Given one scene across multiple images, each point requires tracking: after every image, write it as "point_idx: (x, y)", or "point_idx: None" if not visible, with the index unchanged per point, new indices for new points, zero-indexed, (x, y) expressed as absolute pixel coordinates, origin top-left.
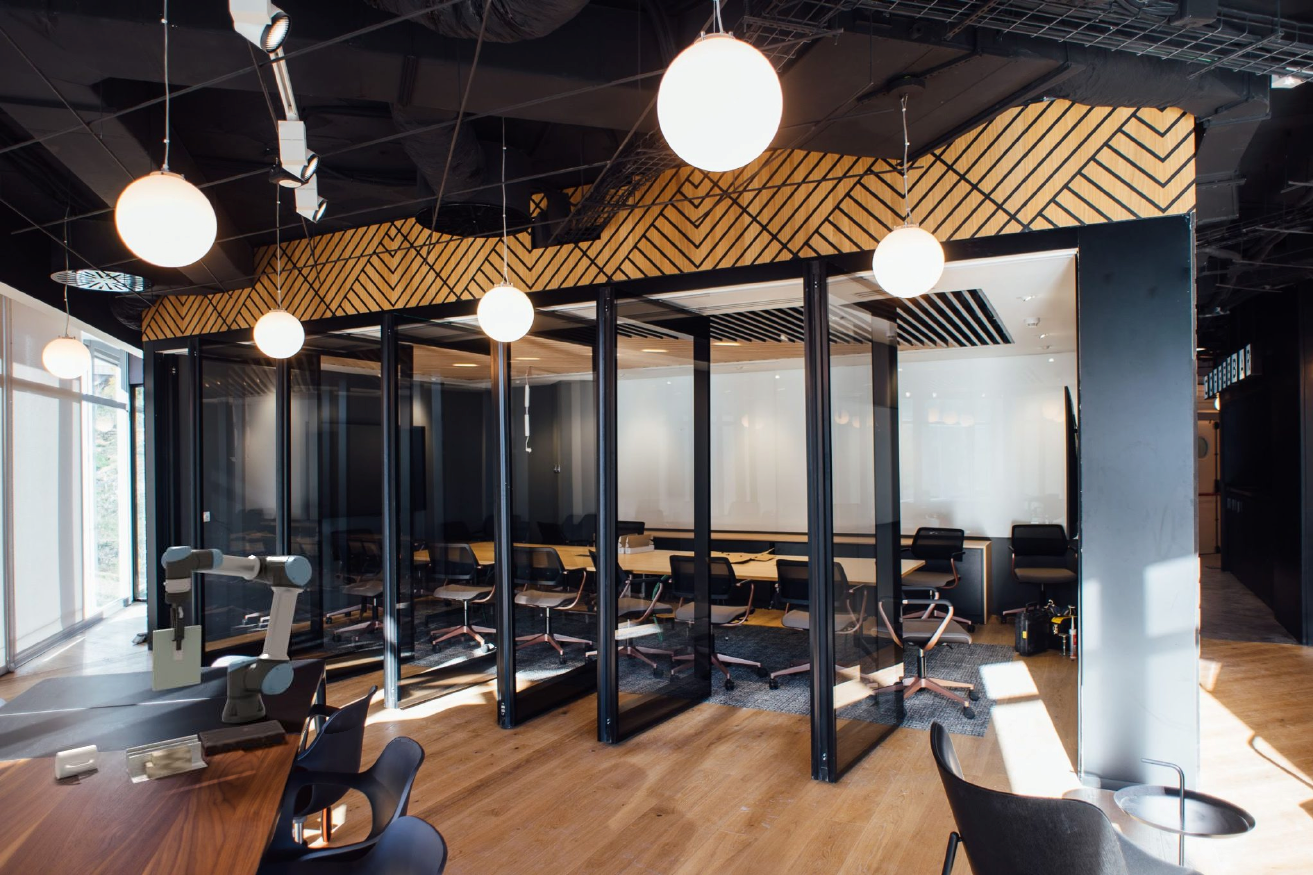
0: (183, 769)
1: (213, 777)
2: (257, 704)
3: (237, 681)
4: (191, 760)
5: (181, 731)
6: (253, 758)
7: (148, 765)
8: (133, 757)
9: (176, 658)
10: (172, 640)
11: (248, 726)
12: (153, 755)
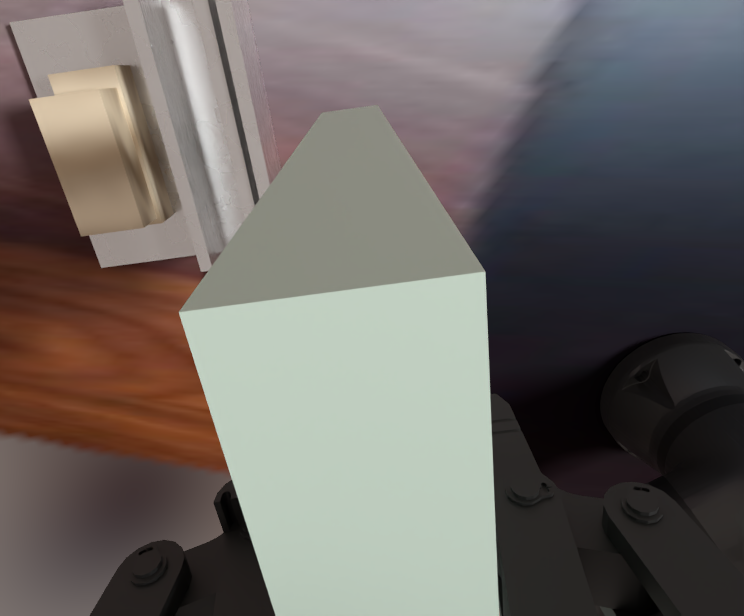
0: None
1: (5, 275)
2: (640, 458)
3: (713, 477)
4: None
5: (672, 200)
6: (151, 384)
7: (72, 77)
8: (128, 13)
9: None
10: (224, 493)
11: None
12: (46, 98)
